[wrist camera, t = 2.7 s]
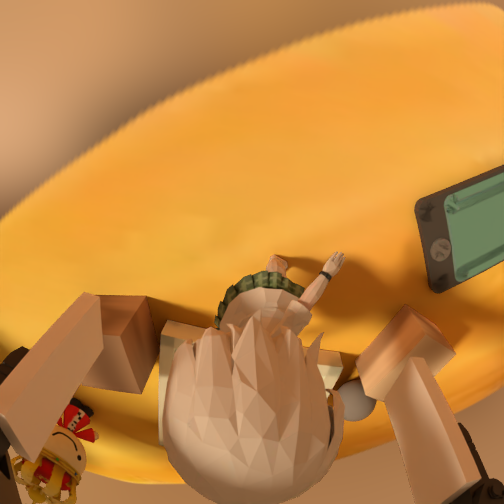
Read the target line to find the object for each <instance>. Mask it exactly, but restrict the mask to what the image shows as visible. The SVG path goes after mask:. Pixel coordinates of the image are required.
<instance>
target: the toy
mask: <svg viewBox="0 0 504 504" xmlns="http://www.w3.org/2000/svg"><path fill="white" fill-rule="evenodd" d="M93 414H94V412H93V411H92V410H91V409H90V408H89V407H87V406H83V404H82V403H81V402H80V401H79V400H77V399H75V398H72V399H71V400H70V404H69V405H67V407H66V408H65V410H64V421H63V423H62V418H61V417H60V418H59V420H58V422H57V424H58V425H59V426H57V425H55V427H54V429H53V430H52V432H51V434H50V436H49V437H48V439H47V441H46V443H45V444H44V446H43V448H42V450H41V452H40V453H39V455H38V457H37V459H36V461H35V463H33V462H31V461H29V460H27V459H26V458H24V457H22V456H20V455H19V456H17V457H15V458H13V459H11V460H10V461H11V465H12V470H13V474H14V478H15V481H16V482H18V483H19V484H23V485H26V490H27V491H28V494H29V496H30V498H31V499H32V500H33V503H32V504H35V503H43V502H46V503H48V504H75V503H76V500H77V498H76V486H77V485H79V481H80V480H81V475H82V473H83V471H84V470H85V467H86V453H85V450H84V447H83V445H82V443H81V442H80V440H79V439H78V438H81V439H83V440H86V441H89V442H92V443H94V442H95V440H97V439H98V438H99V434H98V433H97V432H96V431H93V429H92V428H89V429H86V430H83V431H80V432H77V431H79V430H80V429H82V428H83V427H85V426H86V425H88V424H89V423H90V419H89V418H90V417H91V416H92V415H93ZM75 432H77V433H75ZM77 437H78V438H77ZM20 458H22V461H21V462H19V463H17V464H15V465H14V463H15V461H16V460H18V459H20ZM18 471H21V476H22V478H23V479H22V478H19V477H18V476H17V475H18V473H17V472H18ZM41 481H42V482H44V483H45V484H46V487H44V488H42V487H41V486H39V484H40V482H41ZM61 490H68V491H69V498H68V499H66V500H65V501H60V496H61ZM47 495H48V496H49V497H47Z"/></svg>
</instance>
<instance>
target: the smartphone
mask: <svg viewBox="0 0 504 504" xmlns="http://www.w3.org/2000/svg"><path fill="white" fill-rule="evenodd" d="M414 211H415V215H416V219H417V224H418V228H419V233H420V238H421V242H422V248H423V253H424V258H425V264H426V270H427V276H428V282H429V287H430V288H431V289H432V290H433V291H434V292H435V293H442V292H444V291H446V290H448V289H450V288H452V287H454V286H456V285H458V284H460V283H462V282H464V281H466V280H468V279H470V278H472V277H474V276H476V275H478V274H480V273H482V272H484V271H486V270H487V269H489V268H491V267H493V266H495V265H497V264H499V263H500V262H502V261H504V165H502V166H499V167H497V168H494V169H492V170H490V171H487V172H485V173H482V174H480V175H477V176H475V177H473V178H470V179H468V180H465V181H463V182H460V183H458V184H456V185H453V186H451V187H448V188H446V189H443V190H441V191H438V192H436V193H433V194H431V195H428V196H426V197H423V198H421V199H419V200H418V201H417V202H416V205H415V209H414Z"/></svg>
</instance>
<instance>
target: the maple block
mask: <svg viewBox="0 0 504 504" xmlns="http://www.w3.org/2000/svg"><path fill="white" fill-rule="evenodd" d="M455 355H456V353H455V351H454V350H453V348H452V347H451V345H450V344H449V343H448V341H447V340H446V338H445V337H444V335H443V334H442V333H441V331H440V330H439V328H438V327H437V326H436V324H434V323H433V322H431V321H430V320H428V319H427V318H425V317H424V316H422V315H421V314H419V313H418V312H417V311H415V310H414V309H412V308H411V307H409V306H408V305H406V304H405V305H404V306H403V307H402V309H401V310H400V311H399V312H398V313H397V314H396V316H395V317H394V318H393V319H392V320H391V321H390V323H389V324H388V325H387V326H386V327H385V328H384V329H383V331H382V332H381V333H380V334H379V335H378V336H377V337H376V338H375V339H374V341H373V342H372V343H371V344H370V345H369V346H368V347H367V348H366V349H365V350H364V351H363V352H362V353H361V354H360V356H359V357H358V358H357V359H356V360H355V363H356V366H357V369H358V372H359V376H360V379H361V382H362V385H363V388H364V392H365V395H366V396H369V397H372V398H374V399H377V400H379V401H382V402H384V398H385V397H386V395H387V394H388V392H389V391H390V389H391V388H392V386H393V384H394V383H395V381H396V380H397V378H398V376H399V375H400V373H401V372H402V370H403V368H404V367H405V365H406V363H407V361H408V360H409V358H410V357H419V358H424V360H425V362H426V363H427V365H428V367H429V369H430V371H431V372H432V374H433V376H435V375H436V374H437V373H438V372H439V371H440V370H441V369H442V368H443V367H444V366H445V365H446V364H447V363H448V362H449V361H450V360H451V359H452V358H453V357H454V356H455Z"/></svg>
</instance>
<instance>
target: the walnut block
mask: <svg viewBox="0 0 504 504" xmlns="http://www.w3.org/2000/svg"><path fill="white" fill-rule="evenodd" d="M96 296H99V297H100V308H101V323H102V336H103V347H104V348H103V350H102V351H101V353H100V355H99V356H98V358H97V359H96V361H95V362H94V364H93V365H92V367H91V368H90V370H89V371H88V373H87V375H86V376H85V378H84V379H83V381H82V382H81V384H82V385H83V386H89V387H94V388H100V389H106V390H113V391H119V392H126V393H134V394H142V392H143V390H144V387H145V385H146V382H147V380H148V378H149V375H150V373H151V371H152V369H153V366H154V364H155V362H156V359H157V357H158V355H159V352H160V348H159V344H158V341H157V337H156V333H155V329H154V325H153V321H152V317H151V313H150V309H149V305H148V301H147V296H120V295H96Z"/></svg>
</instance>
